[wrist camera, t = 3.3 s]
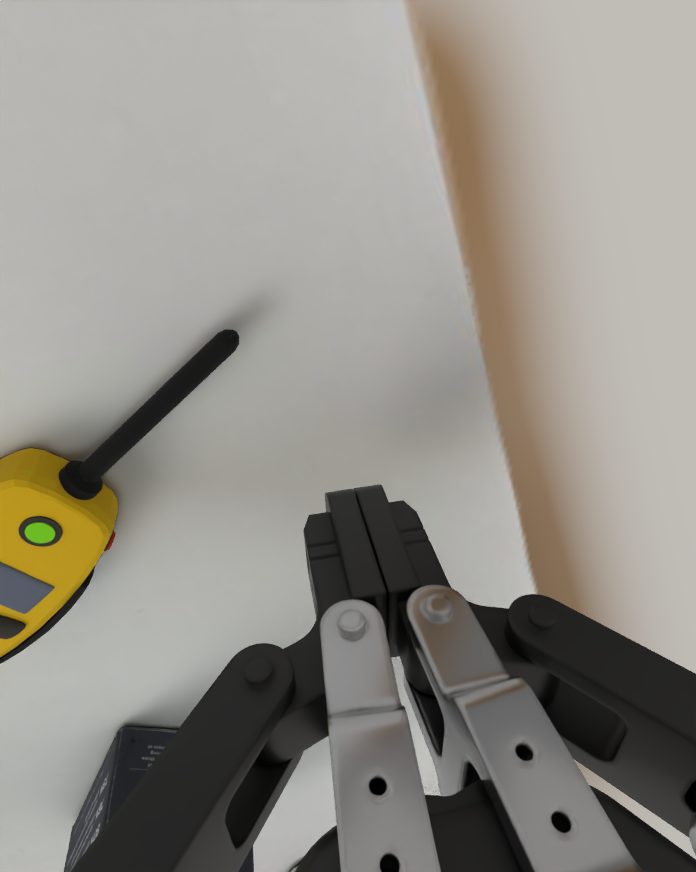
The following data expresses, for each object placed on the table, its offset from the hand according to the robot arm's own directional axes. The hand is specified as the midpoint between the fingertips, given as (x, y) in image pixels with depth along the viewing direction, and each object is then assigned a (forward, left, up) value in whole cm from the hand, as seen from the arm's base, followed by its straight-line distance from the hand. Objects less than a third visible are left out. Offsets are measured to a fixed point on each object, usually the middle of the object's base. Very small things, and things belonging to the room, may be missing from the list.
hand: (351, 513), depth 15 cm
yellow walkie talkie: (0, -8, -3) cm, 9 cm away
